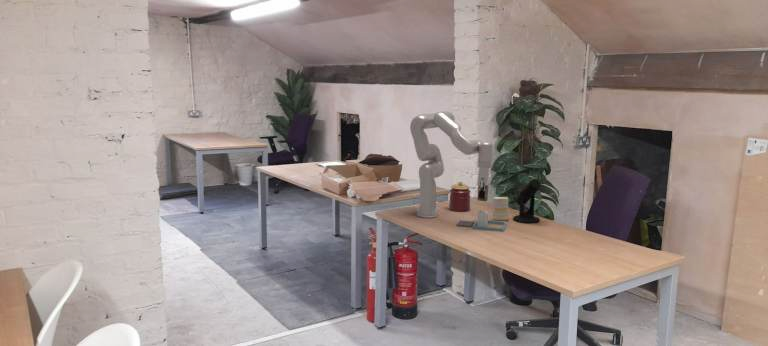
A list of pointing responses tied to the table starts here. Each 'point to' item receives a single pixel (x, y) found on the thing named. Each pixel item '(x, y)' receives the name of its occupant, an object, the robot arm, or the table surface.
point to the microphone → (523, 198)
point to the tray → (490, 227)
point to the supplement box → (500, 208)
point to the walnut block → (485, 193)
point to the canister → (460, 197)
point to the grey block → (482, 218)
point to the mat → (465, 223)
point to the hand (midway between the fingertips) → (482, 196)
